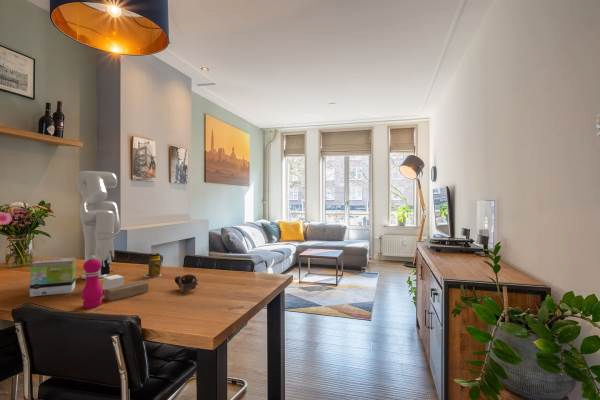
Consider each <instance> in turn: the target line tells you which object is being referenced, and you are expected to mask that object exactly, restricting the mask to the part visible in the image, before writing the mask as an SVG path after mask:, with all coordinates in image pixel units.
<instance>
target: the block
mask: <svg viewBox="0 0 600 400" xmlns="http://www.w3.org/2000/svg"><path fill="white" fill-rule="evenodd" d="M102 282H103V283H102V286H103V287H102V290H103V291H104V289H106V288H110V287H115V286H120V285H124V284H125V277H124V275H123V276H122V275H120V274H114V275H108V276H106V277H102Z"/></svg>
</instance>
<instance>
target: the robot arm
mask: <svg viewBox="0 0 600 400" xmlns="http://www.w3.org/2000/svg"><path fill="white" fill-rule="evenodd" d="M75 181H76V186H77V188H78V191H79V193H80V194H81V196H82V202H80V206H79V216H80V221H81V224H82V230H83V237H84V238H83V239H84V263H85V262H86V261H88V260H90V256H92V255H93V256H95V259H97V260H99V261H100V262H101V268H100V269H99V271H100V274H99V277H98V279H103V277H107V276H110V274H111V273H110V267H111V263H112V260H114V259H115V246H114V239H115V235H118V234H119V233H120V232H121V227H122V225H121V217H120V214H119V213H120V211H119V206H118V205H117V203H116V202H115V201H111V200H106V199H107V198H108V190H107V189H114V188H116V187H117V186H118V177H117V175H116V174H115V173H114V172H111V171H96V170H83V171H79V172H78V173H77V174H76V176H75ZM85 272H86V271H85V270H84V274H81V279H82V280H86V276H85Z"/></svg>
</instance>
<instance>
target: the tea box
mask: <svg viewBox="0 0 600 400" xmlns="http://www.w3.org/2000/svg"><path fill="white" fill-rule="evenodd" d="M76 265H77V264H76V257H60V258H59V257H58V258H57V257H56V258H42V259H36V260H34V261H33V262H31V263H30V264H29V298H32V297H39V296H50V295H62V294H71V293H72V292H73V291H74V289H75V288H76V268H77V267H76Z"/></svg>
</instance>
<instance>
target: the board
mask: <svg viewBox="0 0 600 400" xmlns="http://www.w3.org/2000/svg"><path fill="white" fill-rule="evenodd" d="M148 292H149V282H146V281H144V280H139V281H135V282H134V281H133V282H129V283H124V285H120V286H115V287H110V288H106V289H104V290H103V296H104V299H106V300H107V301H110V302H111V301H116V300H120V299H124V298H128V297H133V296H136V295H140V294H144V293H148Z"/></svg>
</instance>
